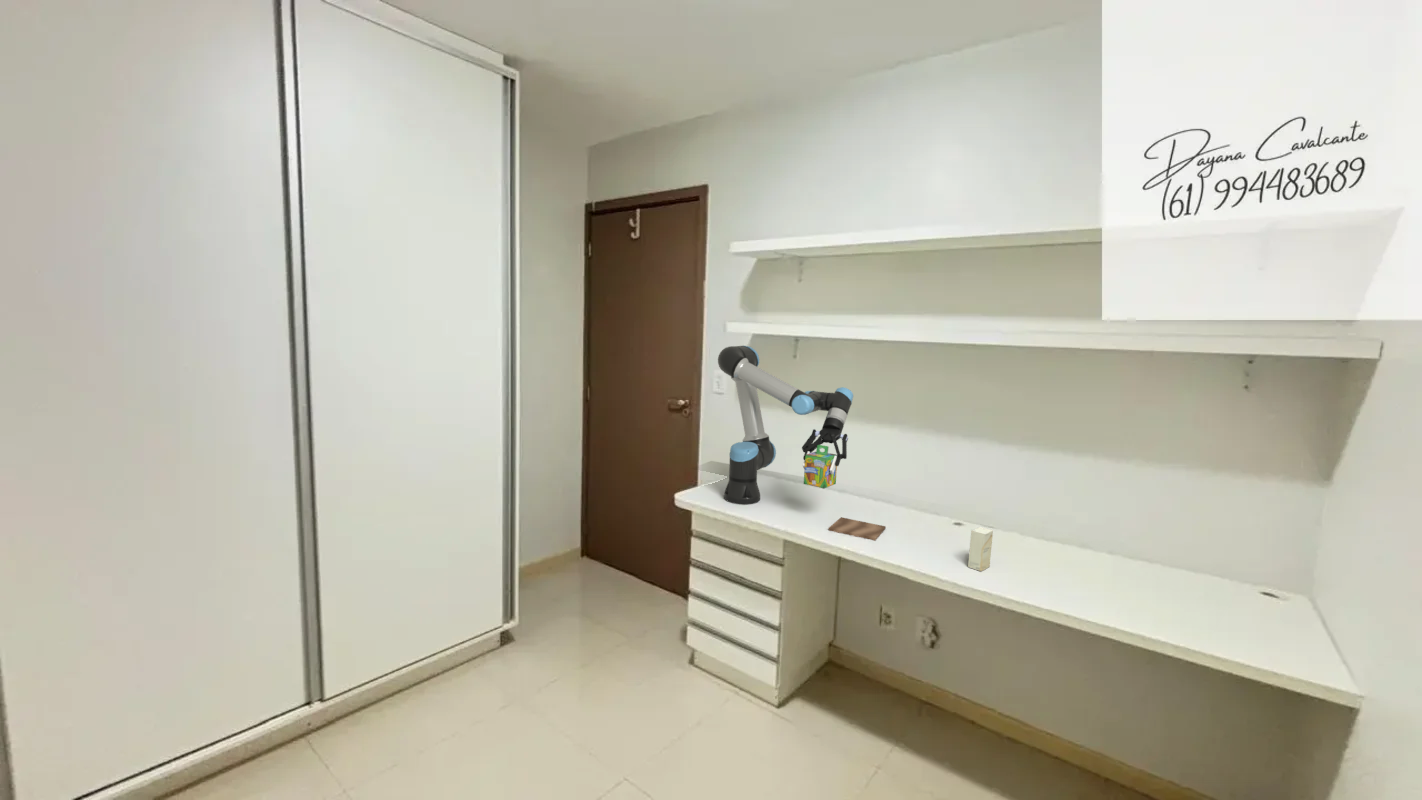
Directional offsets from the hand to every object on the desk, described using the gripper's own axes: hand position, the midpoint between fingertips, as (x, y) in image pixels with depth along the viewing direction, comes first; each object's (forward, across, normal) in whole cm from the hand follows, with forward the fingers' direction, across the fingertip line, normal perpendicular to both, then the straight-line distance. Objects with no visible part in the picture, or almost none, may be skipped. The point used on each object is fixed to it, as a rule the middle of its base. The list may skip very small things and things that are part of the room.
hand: (817, 469), depth 217 cm
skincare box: (+20, -58, -9) cm, 62 cm away
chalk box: (+2, 0, -7) cm, 7 cm away
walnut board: (+13, -16, -16) cm, 26 cm away
